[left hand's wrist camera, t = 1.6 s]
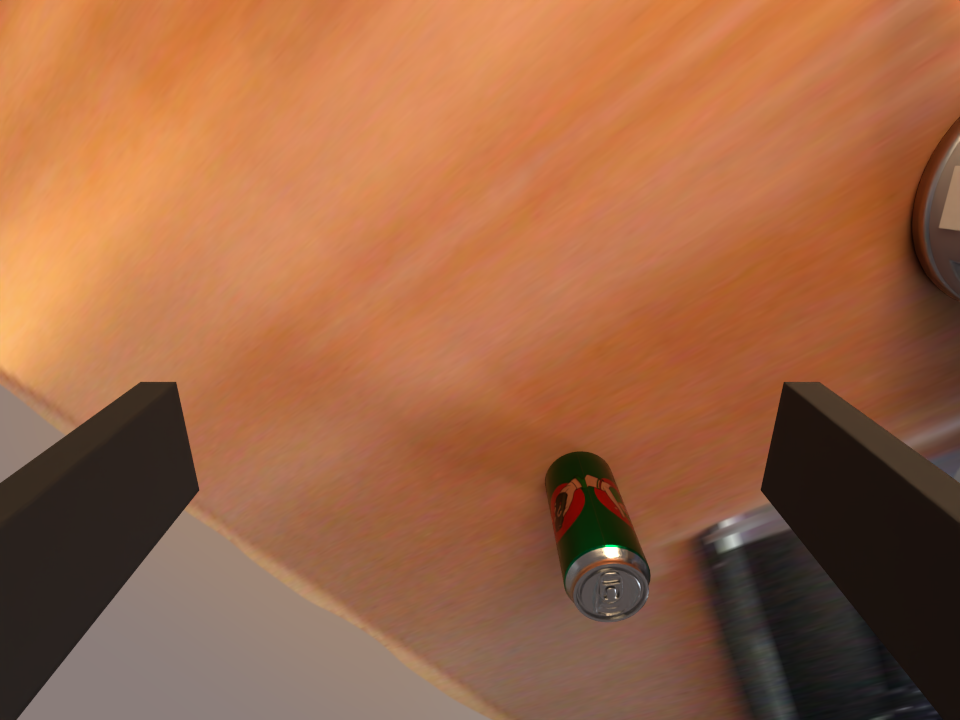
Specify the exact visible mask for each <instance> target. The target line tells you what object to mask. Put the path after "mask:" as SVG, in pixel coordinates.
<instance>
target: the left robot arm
mask: <svg viewBox="0 0 960 720" xmlns="http://www.w3.org/2000/svg"><path fill="white" fill-rule="evenodd" d="M912 232H913V241H914V247H915V250H916V254H917V257H918V259H919V262H920V264H921V266H922V268H923V270H924V272H925V273H926V275H927V276H928V277H929V279H930V280H931V281H932V282H933V283H934V284H935V285H936V286H937V287H938V288H939V289H940V290H941V291H943V292H944V293H945V294H947V295H948V296H950V297H952V298H953V299H955V300H958V301H960V117H959V118H958V119H957V121H956V122H955V123H954V124H953V125H952V126H951V128H950V129H949V130H948V132H947V133H946V134H945V135H944V137H943V138H942V140H941V141H940V143H939V144H938V146H937V147H936V149H935V151H934V152H933V154H932V156H931V158H930V160H929V162H928V164H927V166H926V168H925V170H924V173H923V175H922V178H921V180H920V183H919V186H918V189H917V193H916V197H915V202H914V208H913V218H912ZM198 491H199V487H198V482H197V477H196V473H195V468H194V463H193V459H192V454H191V449H190V445H189V440H188V435H187V431H186V426H185V421H184V417H183V412H182V407H181V403H180V398H179V393H178V389H177V384H176V382H140V383H139V384H137V385H136V386H135V387H133V388H132V389H130V390H129V391H128V392H126V393H125V394H123V395H122V396H121V397H119V398H118V399H116V400H115V401H114V402H112V403H111V404H110V405H108V406H107V407H105V408H104V409H103V410H101V411H100V412H98V413H97V414H96V415H94V416H93V417H91V418H90V419H89V420H87V421H86V422H85V423H83V424H82V425H80V426H79V427H78V428H76V429H75V430H73V431H72V432H71V433H69V434H68V435H66V436H65V437H64V438H62V439H61V440H60V441H58V442H57V443H55V444H54V445H53V446H51V447H50V448H48V449H47V450H46V451H44V452H43V453H41V454H40V455H39V456H37V457H36V458H35V459H33V460H32V461H30V462H29V463H28V464H26V465H25V466H24V467H22V468H21V469H19V470H18V471H16V472H15V473H14V474H12V475H11V476H10V477H8V478H7V479H5V480H4V481H3V482H1V483H0V720H17V718H18V717H19V716H20V715H21V713H22V712H23V711H24V710H25V708H26V707H27V706H28V705H29V703H30V702H31V701H32V699H33V698H34V697H35V696H36V695H37V693H38V692H39V691H40V690H41V688H42V687H43V686H44V684H45V683H46V682H47V681H48V679H49V678H50V677H51V676H52V674H53V673H54V672H55V671H56V669H57V668H58V667H59V666H60V664H61V663H62V662H63V661H64V659H65V658H66V657H67V656H68V654H69V653H70V652H71V651H72V649H73V648H74V647H75V646H76V644H77V643H78V642H79V641H80V639H81V638H82V637H83V636H84V634H85V633H86V632H87V631H88V629H89V628H90V627H91V625H92V624H93V623H94V622H95V620H96V619H97V618H98V617H99V615H100V614H101V613H102V612H103V610H104V609H105V608H106V607H107V605H108V604H109V603H110V602H111V600H112V599H113V598H114V597H115V595H116V594H117V593H118V592H119V590H120V589H121V588H122V587H123V585H124V584H125V583H126V582H127V580H128V579H129V578H130V577H131V575H132V574H133V573H134V571H135V570H136V569H137V568H138V566H139V565H140V564H141V563H142V561H143V560H144V559H145V558H146V556H147V555H148V554H149V553H150V551H151V550H152V549H153V548H154V546H155V545H156V544H157V543H158V541H159V540H160V539H161V538H162V536H163V535H164V534H165V533H166V531H167V530H168V529H169V527H170V526H171V525H172V524H173V523H174V521H175V520H176V519H177V518H178V516H179V515H180V514H181V512H182V511H183V510H184V509H185V507H186V506H187V505H188V504H189V502H190V501H191V500H192V499H193V497H194V496H195V495H196V494H197V492H198ZM761 491H762V492H763V494H764V495H765V496H766V497H767V499H768V500H769V501H770V502H771V504H772V505H773V506H774V507H775V509H776V510H777V511H778V512H779V514H780V515H781V516H782V518H783V519H784V520H785V521H786V523H787V524H788V525H789V526H790V528H791V529H792V530H793V531H794V533H795V534H796V535H797V536H798V538H799V539H800V540H801V541H802V543H803V544H804V545H805V546H806V548H807V549H808V550H809V551H810V553H811V554H812V555H813V556H814V558H815V559H816V560H817V561H818V563H819V564H820V565H821V566H822V568H823V569H824V570H825V571H826V573H827V574H828V575H829V577H830V578H831V579H832V580H833V582H834V583H835V584H836V585H837V587H838V588H839V589H840V590H841V592H842V593H843V594H844V595H845V597H846V598H847V599H848V600H849V602H850V603H851V604H852V605H853V607H854V608H855V609H856V610H857V612H858V613H859V614H860V615H861V617H862V618H863V619H864V620H865V622H866V623H867V624H868V625H869V627H870V628H871V629H872V631H873V632H874V633H875V634H876V636H877V637H878V638H879V639H880V641H881V642H882V643H883V644H884V646H885V647H886V648H887V649H888V651H889V652H890V653H891V654H892V656H893V657H894V658H895V659H896V661H897V662H898V663H899V664H900V666H901V667H902V668H903V669H904V671H905V672H906V673H907V674H908V676H909V677H910V678H911V679H912V681H913V682H914V683H915V684H916V686H917V687H918V688H919V690H920V691H921V692H922V693H923V695H924V696H925V697H926V698H927V700H928V701H929V702H930V703H931V705H932V706H933V707H934V708H935V710H936V711H937V712H938V713H939V715H940V716H941V717H942V718H943V720H960V483H959V482H957V481H956V480H955V479H953V478H952V477H950V476H949V475H948V474H946V473H945V472H944V471H942V470H941V469H939V468H938V467H937V466H935V465H934V464H932V463H931V462H930V461H928V460H927V459H925V458H924V457H923V456H921V455H920V454H919V453H917V452H916V451H914V450H913V449H912V448H910V447H909V446H907V445H906V444H905V443H903V442H902V441H900V440H899V439H898V438H896V437H895V436H894V435H892V434H891V433H889V432H888V431H887V430H885V429H884V428H882V427H881V426H880V425H878V424H877V423H875V422H874V421H873V420H871V419H870V418H869V417H867V416H866V415H864V414H863V413H862V412H860V411H859V410H857V409H856V408H855V407H853V406H852V405H850V404H849V403H848V402H846V401H845V400H844V399H842V398H841V397H839V396H838V395H837V394H835V393H834V392H832V391H831V390H830V389H828V388H827V387H825V386H824V385H823V384H821V383H820V382H784V384H783V389H782V393H781V398H780V403H779V407H778V412H777V417H776V421H775V426H774V431H773V435H772V440H771V445H770V449H769V454H768V459H767V463H766V468H765V473H764V477H763V482H762V487H761Z"/></svg>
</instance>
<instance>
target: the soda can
mask: <svg viewBox="0 0 960 720" xmlns="http://www.w3.org/2000/svg"><path fill="white" fill-rule="evenodd" d="M545 486H546V492H547V497H548V502H549V508H550V513H551V518H552V524H553V529H554V534H555V539H556V545H557V550H558V555H559V561H560V566H561V571H562V577H563V582H564V587H565V591H566V593H567V595H568V596H569V598H570V599H571V600H572V601H573V602H574V603H575V605H576V607H577V608H578V610H579V611H580V612H581V613H582V614H584V615H585V616H586V617H588V618H590V619H593V620H596V621H600V622H615V621H620V620H624V619H626V618H629V617H630V616H632V615H634V614H635V613H637V612H638V611H639V610H640V609H641V608H642V607H643V605H644V604H645V602H646V600H647V598H648V594H649V583H650V569H649V566H648V564H647V561H646V558H645V556H644V553H643V551H642V548H641V546H640V543H639V541H638V538H637V536H636V533H635V530H634V528H633V525H632V523H631V520H630V518H629V515H628V513H627V510H626V508H625V505H624V503H623V500H622V497H621V495H620V492H619V490H618V487H617V485H616V482H615V480H614V477H613V475H612V472H611V469H610V467H609V466H608V464H607V463H606V462H605V461H604V460H603V459H602V458H601V457H599V456H597V455H595V454H593V453H589V452H572V453H569V454H566V455H564V456H561V457H560V458H558V459H557V460H556V461H555V462H554V463H553V464H552V465H551V466H550V468H549V469H548V471H547V474H546V478H545Z"/></svg>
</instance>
